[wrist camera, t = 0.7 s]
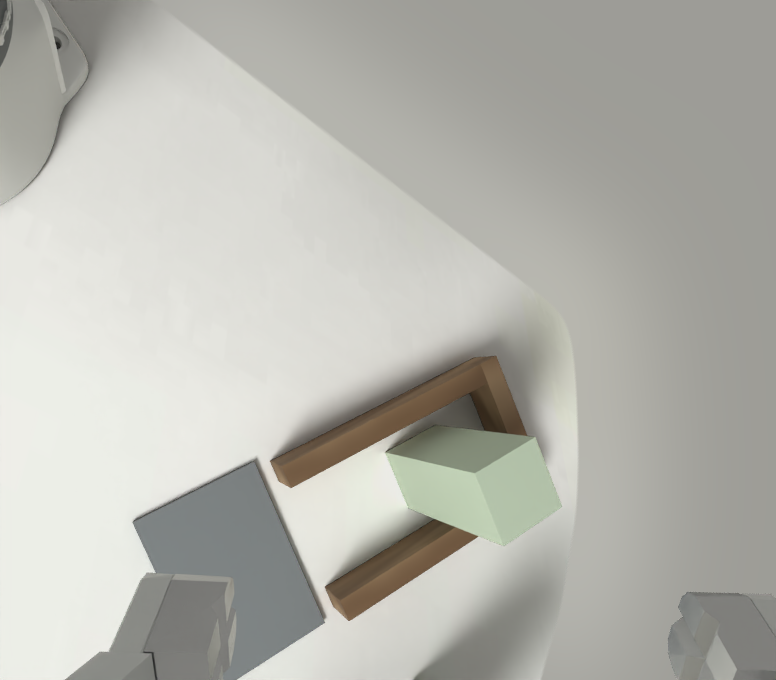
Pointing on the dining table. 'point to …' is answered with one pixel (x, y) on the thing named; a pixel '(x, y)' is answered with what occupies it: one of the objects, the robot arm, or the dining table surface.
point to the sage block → (476, 480)
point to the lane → (379, 423)
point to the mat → (237, 561)
